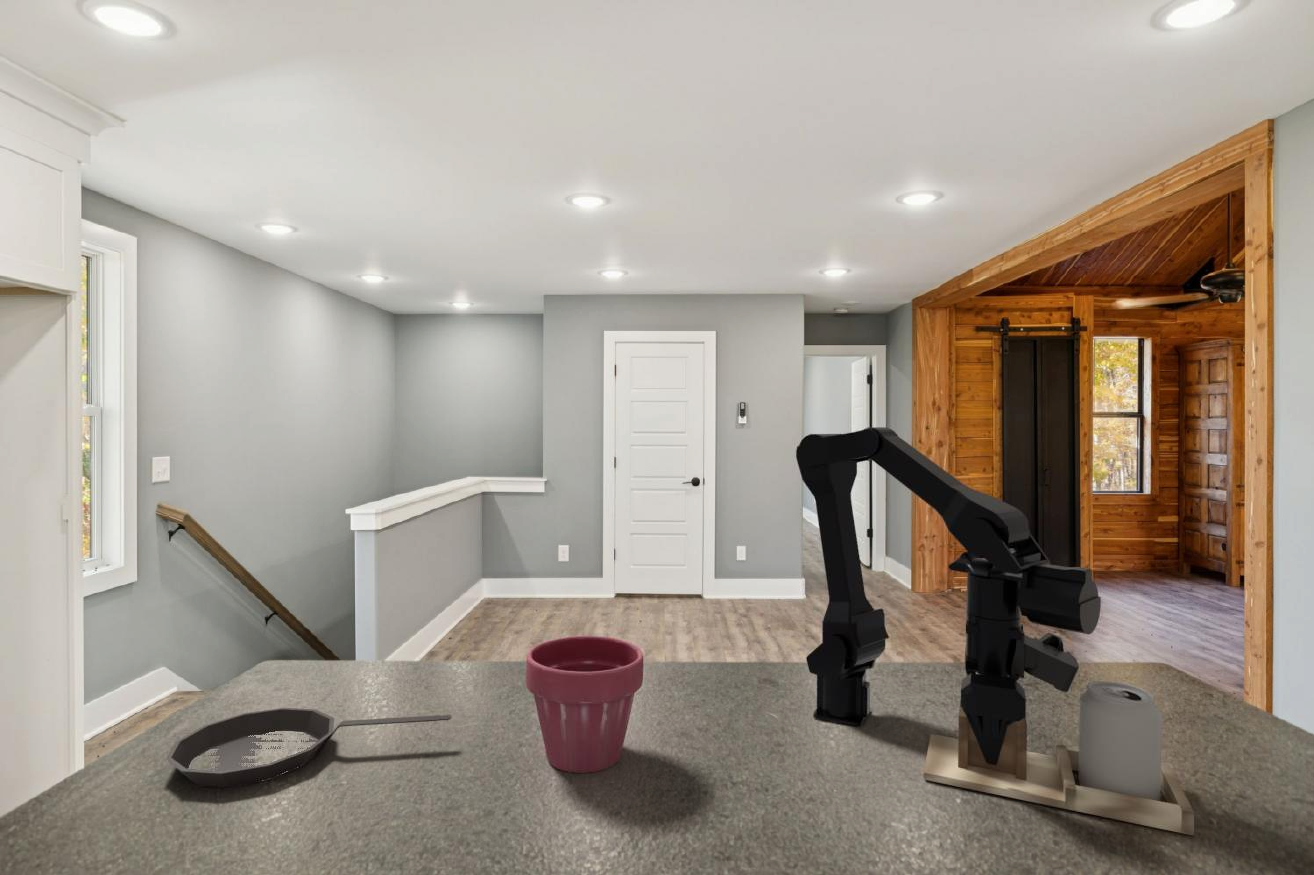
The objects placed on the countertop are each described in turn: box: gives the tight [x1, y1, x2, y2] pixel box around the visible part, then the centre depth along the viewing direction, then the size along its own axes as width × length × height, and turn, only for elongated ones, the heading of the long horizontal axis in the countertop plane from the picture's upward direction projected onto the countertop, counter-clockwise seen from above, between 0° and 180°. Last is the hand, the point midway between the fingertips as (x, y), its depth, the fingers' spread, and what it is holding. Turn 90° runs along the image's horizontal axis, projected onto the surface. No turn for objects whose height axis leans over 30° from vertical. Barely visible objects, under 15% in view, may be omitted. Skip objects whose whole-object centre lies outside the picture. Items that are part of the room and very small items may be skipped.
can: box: [1077, 680, 1163, 801], centre depth 76 cm, size 8×8×12 cm
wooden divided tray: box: [923, 700, 1195, 836], centre depth 79 cm, size 25×11×7 cm, turn 65°
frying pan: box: [165, 707, 452, 788], centre depth 86 cm, size 18×32×4 cm, turn 98°
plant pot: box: [525, 635, 644, 774], centre depth 86 cm, size 14×14×13 cm
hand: (991, 746), depth 82 cm, fingers open, 9 cm apart
